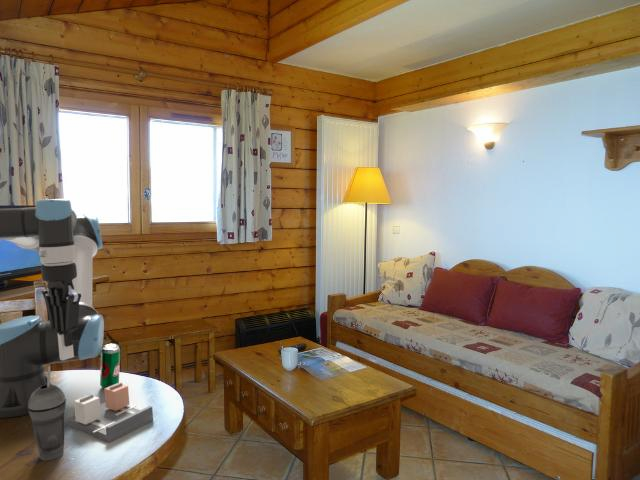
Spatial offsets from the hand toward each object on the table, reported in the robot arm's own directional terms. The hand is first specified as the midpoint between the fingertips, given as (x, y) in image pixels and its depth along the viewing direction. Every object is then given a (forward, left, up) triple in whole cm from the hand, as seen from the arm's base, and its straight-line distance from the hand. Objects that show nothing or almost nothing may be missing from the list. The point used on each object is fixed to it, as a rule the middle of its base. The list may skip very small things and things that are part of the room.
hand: (66, 358), depth 119 cm
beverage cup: (+11, -11, -16) cm, 23 cm away
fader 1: (+7, 0, -14) cm, 16 cm away
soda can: (-11, +18, -16) cm, 26 cm away
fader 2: (+7, +8, -14) cm, 18 cm away
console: (+9, +4, -16) cm, 19 cm away
